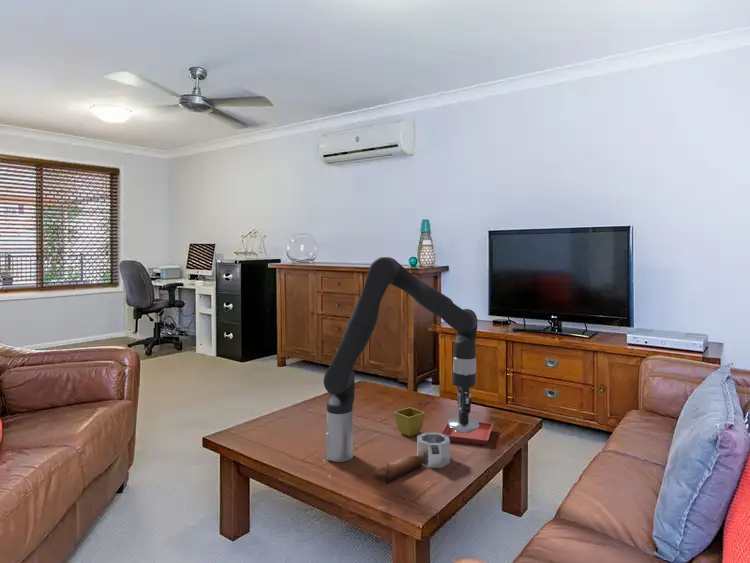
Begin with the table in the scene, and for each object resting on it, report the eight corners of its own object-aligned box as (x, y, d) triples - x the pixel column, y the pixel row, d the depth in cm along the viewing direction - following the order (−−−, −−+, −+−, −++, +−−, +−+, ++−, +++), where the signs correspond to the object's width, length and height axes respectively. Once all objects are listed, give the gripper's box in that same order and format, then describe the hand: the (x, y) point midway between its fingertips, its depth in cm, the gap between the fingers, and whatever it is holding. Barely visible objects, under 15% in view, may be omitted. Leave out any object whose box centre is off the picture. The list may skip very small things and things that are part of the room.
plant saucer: (488, 448, 187) (488, 439, 187) (440, 442, 193) (440, 434, 193) (493, 431, 204) (493, 423, 204) (449, 426, 210) (449, 418, 210)
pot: (419, 471, 168) (419, 448, 167) (415, 450, 185) (415, 429, 184) (452, 471, 168) (452, 448, 167) (445, 450, 185) (445, 429, 184)
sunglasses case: (403, 458, 178) (411, 445, 175) (417, 473, 174) (424, 460, 171) (368, 475, 165) (375, 462, 162) (381, 492, 161) (389, 478, 158)
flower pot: (408, 439, 195) (408, 417, 194) (394, 433, 202) (393, 411, 201) (424, 434, 201) (424, 412, 200) (409, 428, 207) (409, 407, 207)
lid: (450, 435, 160) (450, 412, 160) (446, 424, 170) (446, 402, 169) (481, 435, 160) (482, 412, 159) (475, 424, 170) (476, 402, 169)
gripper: (449, 365, 171) (449, 414, 172) (456, 376, 156) (455, 430, 158) (472, 365, 170) (471, 414, 172) (480, 376, 156) (479, 430, 158)
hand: (463, 421), depth 165 cm, fingers closed on lid, 3 cm apart
